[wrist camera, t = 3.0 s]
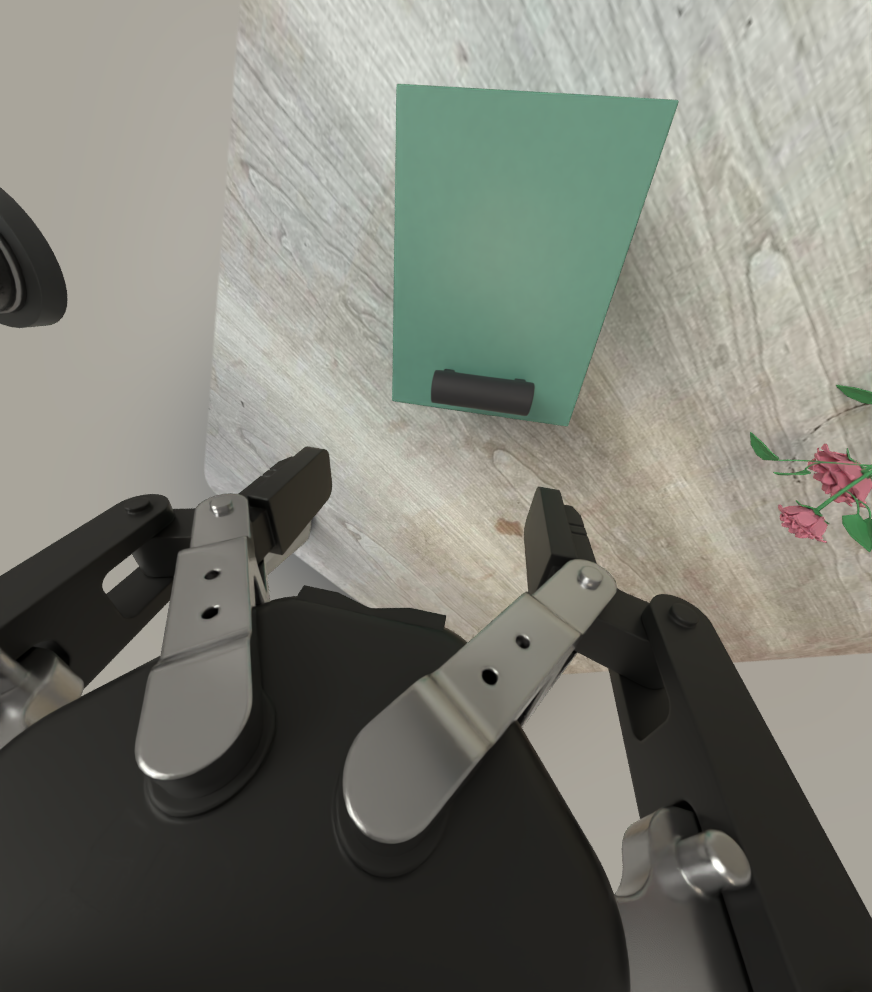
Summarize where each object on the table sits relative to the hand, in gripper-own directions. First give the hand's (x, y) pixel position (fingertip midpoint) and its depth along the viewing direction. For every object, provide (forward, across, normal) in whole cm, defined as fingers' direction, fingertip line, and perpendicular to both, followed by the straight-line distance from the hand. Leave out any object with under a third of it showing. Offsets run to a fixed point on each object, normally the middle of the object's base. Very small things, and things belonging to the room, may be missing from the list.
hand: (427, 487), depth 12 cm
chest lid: (+12, -1, -6) cm, 14 cm away
